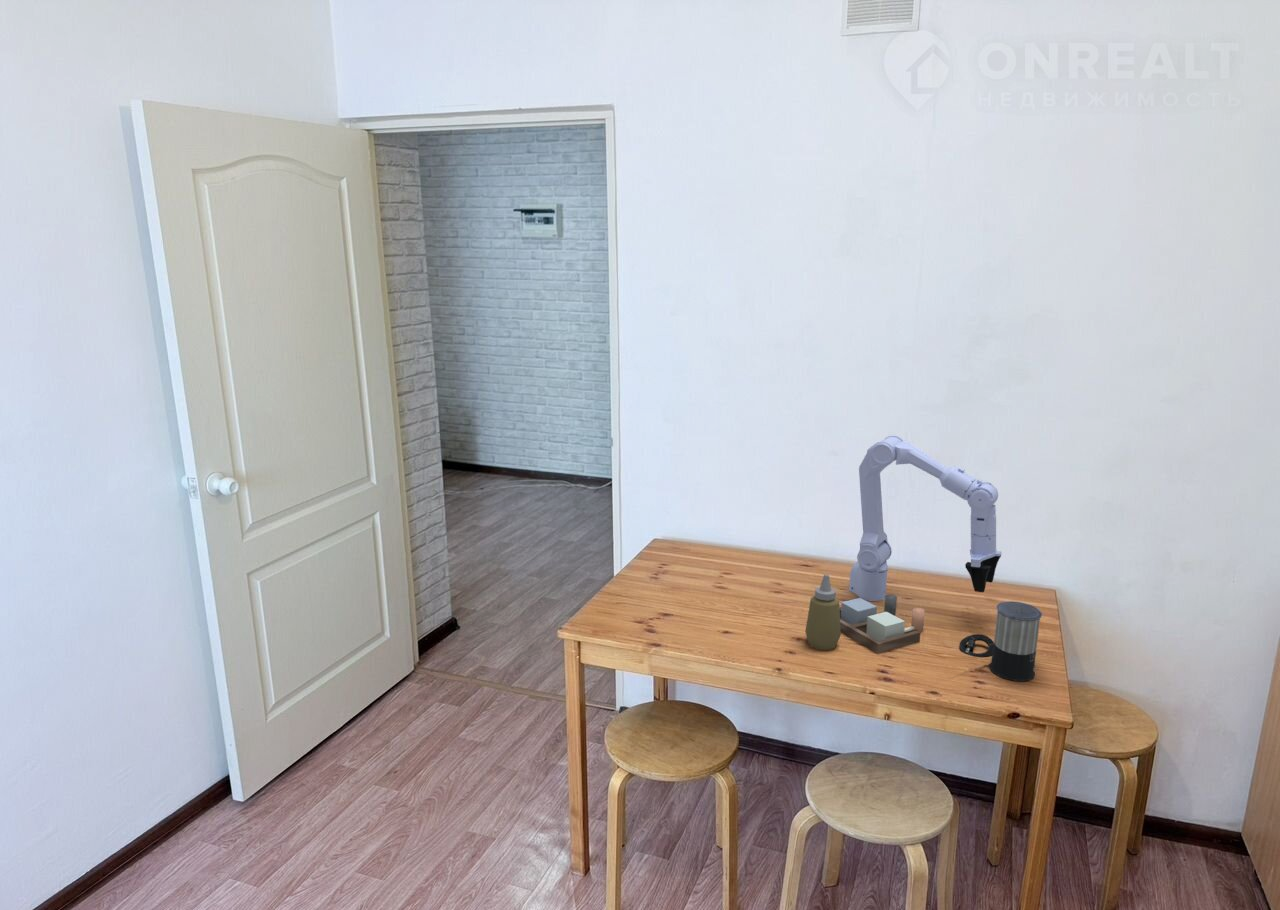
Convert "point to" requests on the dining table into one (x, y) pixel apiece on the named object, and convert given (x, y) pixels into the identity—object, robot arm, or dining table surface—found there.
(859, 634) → the shelf
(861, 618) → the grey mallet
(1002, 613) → the milk frother
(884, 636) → the sage cube mallet
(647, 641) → the dining table surface
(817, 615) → the squeeze bottle
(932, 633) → the dining table surface
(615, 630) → the dining table surface
